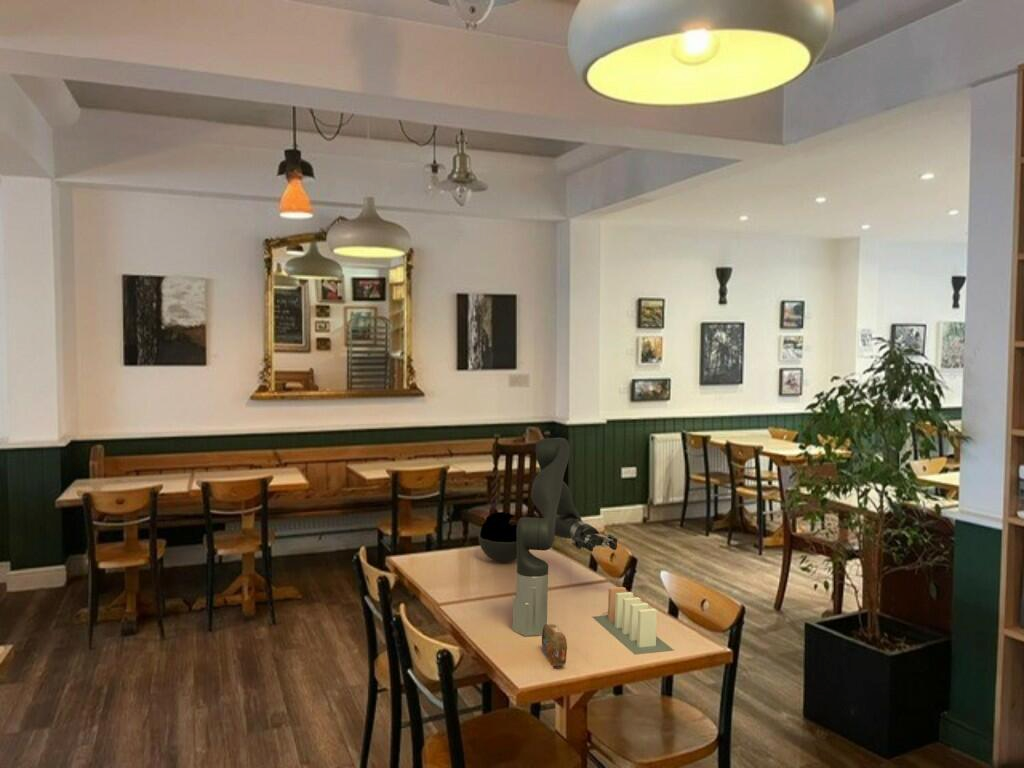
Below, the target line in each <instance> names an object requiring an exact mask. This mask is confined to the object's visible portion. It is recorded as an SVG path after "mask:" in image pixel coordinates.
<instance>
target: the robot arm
mask: <svg viewBox="0 0 1024 768" xmlns="http://www.w3.org/2000/svg"><path fill="white" fill-rule="evenodd" d="M570 447H571V446H570V444H569V441H568V440H567V439H566V438H564V437H549V438H541V439H539V440H537V442H536V443H535V455H536V456H535V457H536V461H537V464H538V466H539V469H540V472H539V473H537V475H536V476H535V478H534V479H533V483H532V488H531V491H530V492H531V493H530V496H531V500H532V502H533V504H534V506H535V508H537V510H538V511H539V512H540V514H541V515H542V517H543V518H542V517H540V518H539V517H529V516H528V517H526V516H525V517H520V518H519V519H518V521H517V524H516V525H517V559H516V585H515V586H516V587H515V588H516V590H515V592H516V593H515V597H514V598H513V601H512V631H514V632H515V633H517V634H519V635H521V636H524V637H527V636H533V637H534V636H540V635H541V636H542V631H543V627H544V625H545V624H548V598H549V597H548V594H549V591H548V590H549V564H548V562H546V561H545V559H544V560H543V559H541V558H539V557H537V556H535V555H534V554H533V553H532V552H531V551H530V550H532V551H549V550H550V549H551V548H552V547H553V544H554V540H555V534H556V535H558V537H561V538H564V539H565V538H566V539H572V544H571V545H573V546H574V547H575V548H577V549H578V550H580V549H582V548H583V549H584V550H587V551H589V552H594V548H595V547H597V548H598V547H600V548H607V547H608V548H610V549H612V550H613V551H616V550H617V549H618V538H617V537H615V536H614V535H612V534H607V536H605V535H601V534H600V532H599V531H598V530H597V528H595V527H594V526H592V525H590V524H589V523H587V522H584V521H583V520H582V517H581V515H580V514H579V513H578V511H577V509H576V508H575V505H574V502H573V498H572V494H571V489H570V488H569V486H568V485H567V483H566V482H565V481H564V477H565V476H564V475H565V472H566V469H567V466H568V464H569V459H570V451H571V450H570V449H571V448H570ZM557 515H559V516H557Z"/></svg>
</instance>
